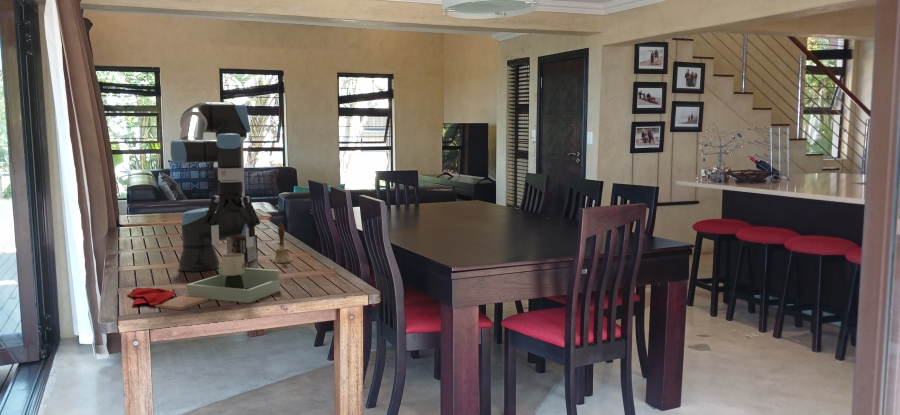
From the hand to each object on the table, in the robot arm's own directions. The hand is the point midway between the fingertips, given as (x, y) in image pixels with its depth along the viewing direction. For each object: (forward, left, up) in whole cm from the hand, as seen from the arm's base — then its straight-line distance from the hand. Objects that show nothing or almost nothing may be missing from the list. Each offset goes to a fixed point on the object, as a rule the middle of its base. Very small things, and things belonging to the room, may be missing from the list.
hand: (232, 245), depth 221 cm
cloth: (-21, -14, -16) cm, 30 cm away
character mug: (0, 0, -16) cm, 16 cm away
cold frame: (0, 0, -16) cm, 16 cm away
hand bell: (-17, +54, -16) cm, 59 cm away
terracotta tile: (-7, -16, -16) cm, 24 cm away
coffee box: (-11, +20, -16) cm, 28 cm away
